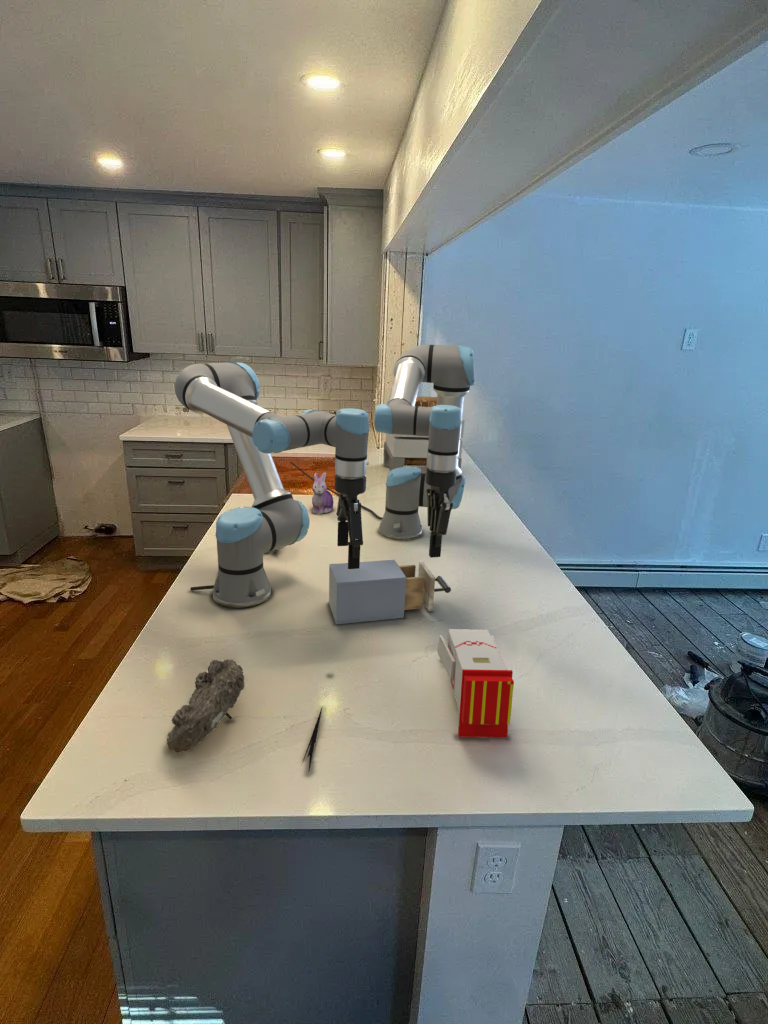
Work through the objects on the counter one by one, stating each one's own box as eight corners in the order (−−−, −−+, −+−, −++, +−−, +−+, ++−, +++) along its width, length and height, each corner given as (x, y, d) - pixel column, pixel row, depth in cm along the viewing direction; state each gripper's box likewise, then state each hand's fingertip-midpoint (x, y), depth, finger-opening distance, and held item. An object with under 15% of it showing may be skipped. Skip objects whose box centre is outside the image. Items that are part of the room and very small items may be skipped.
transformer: (382, 463, 289) (386, 382, 275) (445, 464, 293) (451, 384, 279) (390, 482, 257) (394, 392, 243) (460, 483, 261) (468, 394, 247)
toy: (488, 613, 130) (523, 677, 101) (484, 667, 133) (517, 744, 104) (435, 612, 130) (455, 676, 101) (432, 666, 133) (451, 743, 103)
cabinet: (392, 597, 156) (394, 559, 152) (403, 617, 146) (406, 577, 142) (328, 603, 151) (329, 564, 147) (336, 624, 141) (336, 582, 137)
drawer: (438, 591, 158) (441, 560, 155) (451, 608, 150) (454, 575, 146) (363, 598, 153) (364, 565, 149) (371, 616, 144) (373, 582, 141)
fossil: (192, 660, 117) (244, 628, 112) (224, 691, 120) (276, 661, 115) (142, 746, 98) (202, 712, 93) (182, 779, 101) (242, 748, 96)
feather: (331, 679, 122) (336, 673, 122) (307, 777, 96) (313, 769, 95) (324, 675, 122) (329, 669, 121) (298, 772, 95) (304, 764, 95)
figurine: (315, 516, 213) (315, 477, 208) (306, 507, 221) (306, 470, 216) (338, 512, 217) (339, 475, 212) (328, 504, 225) (329, 468, 220)
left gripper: (379, 491, 124) (374, 577, 132) (355, 460, 147) (352, 536, 154) (345, 492, 122) (342, 580, 130) (326, 461, 145) (324, 537, 152)
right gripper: (465, 476, 135) (457, 565, 143) (446, 461, 147) (439, 545, 155) (436, 477, 133) (429, 567, 141) (418, 462, 145) (413, 547, 153)
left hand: (347, 556), depth 142 cm, fingers open, 13 cm apart
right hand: (434, 556), depth 148 cm, fingers closed
